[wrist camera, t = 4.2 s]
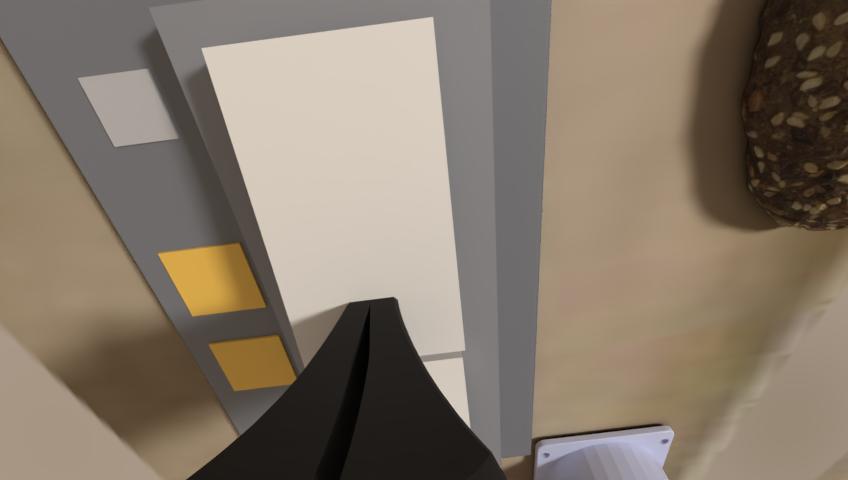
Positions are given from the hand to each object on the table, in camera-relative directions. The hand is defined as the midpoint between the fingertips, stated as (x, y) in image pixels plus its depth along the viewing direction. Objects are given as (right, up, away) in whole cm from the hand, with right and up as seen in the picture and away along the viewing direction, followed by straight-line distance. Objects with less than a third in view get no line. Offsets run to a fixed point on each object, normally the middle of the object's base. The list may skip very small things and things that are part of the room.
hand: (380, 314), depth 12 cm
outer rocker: (0, +3, -1) cm, 3 cm away
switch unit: (-1, 0, +5) cm, 5 cm away
